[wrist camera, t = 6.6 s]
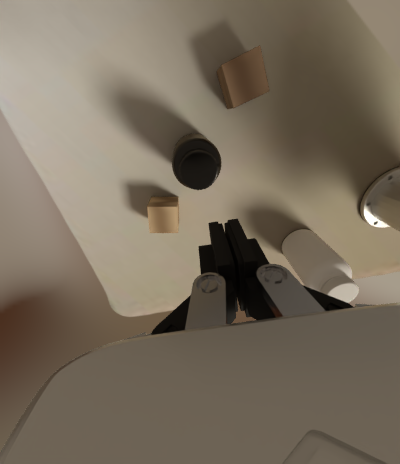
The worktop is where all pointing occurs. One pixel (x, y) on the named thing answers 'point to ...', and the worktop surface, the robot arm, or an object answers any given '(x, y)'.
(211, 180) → the supplement bottle
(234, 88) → the walnut block
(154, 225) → the maple block
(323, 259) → the pill bottle
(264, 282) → the robot arm
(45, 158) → the worktop surface
